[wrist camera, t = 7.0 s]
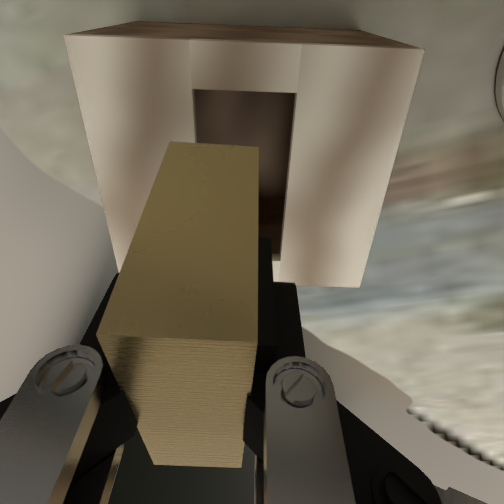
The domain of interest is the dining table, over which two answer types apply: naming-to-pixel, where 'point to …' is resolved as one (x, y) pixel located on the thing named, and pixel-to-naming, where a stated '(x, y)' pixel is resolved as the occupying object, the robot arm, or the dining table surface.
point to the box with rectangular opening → (253, 127)
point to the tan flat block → (190, 306)
